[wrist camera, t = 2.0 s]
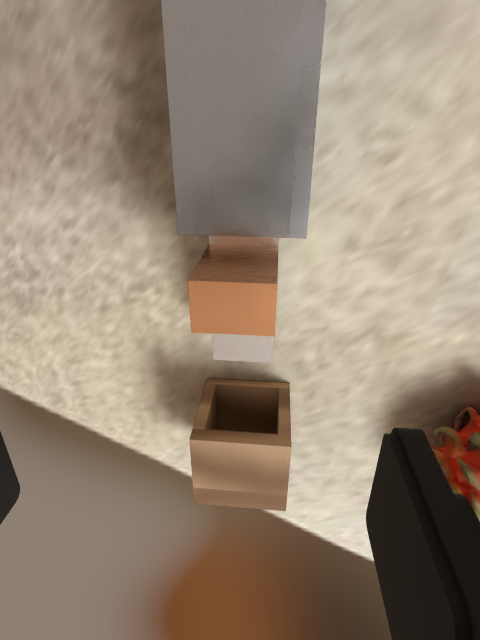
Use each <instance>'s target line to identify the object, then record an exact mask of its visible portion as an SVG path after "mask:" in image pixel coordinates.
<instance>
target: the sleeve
mask: <svg viewBox="0 0 480 640" xmlns="http://www.w3.org/2000/svg"><path fill="white" fill-rule="evenodd" d="M325 7H326V0H161V8H162V22H163V36H164V50H165V64H166V78H167V91H168V105H169V119H170V133H171V147H172V161H173V174H174V188H175V202H176V216H177V230H178V235H202V236H237V237H273V238H306V237H307V225H308V212H309V200H310V188H311V176H312V164H313V152H314V140H315V128H316V116H317V104H318V92H319V79H320V67H321V55H322V43H323V31H324V19H325Z"/></svg>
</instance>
